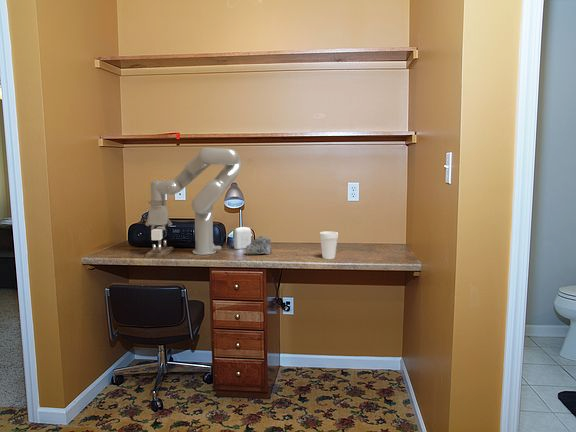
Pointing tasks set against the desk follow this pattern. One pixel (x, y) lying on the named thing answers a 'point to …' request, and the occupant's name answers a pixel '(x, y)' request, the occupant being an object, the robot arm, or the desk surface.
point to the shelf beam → (157, 233)
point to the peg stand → (159, 250)
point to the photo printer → (242, 237)
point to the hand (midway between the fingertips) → (159, 236)
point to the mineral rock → (260, 246)
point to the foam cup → (328, 244)
